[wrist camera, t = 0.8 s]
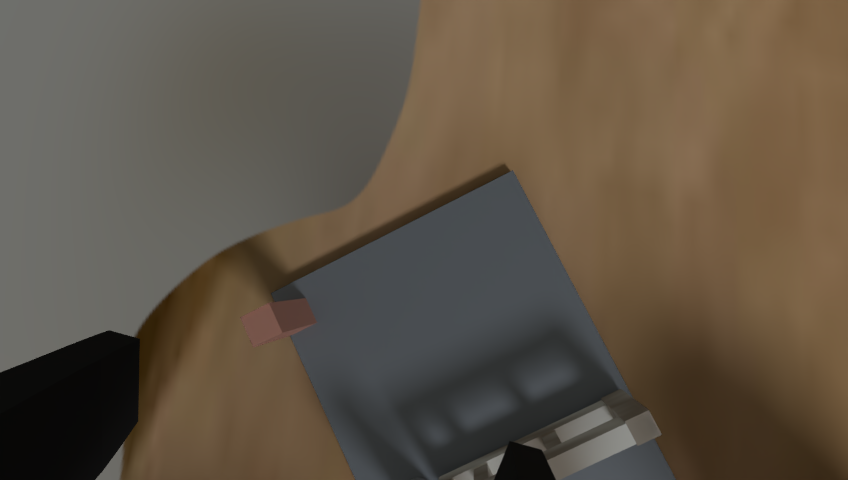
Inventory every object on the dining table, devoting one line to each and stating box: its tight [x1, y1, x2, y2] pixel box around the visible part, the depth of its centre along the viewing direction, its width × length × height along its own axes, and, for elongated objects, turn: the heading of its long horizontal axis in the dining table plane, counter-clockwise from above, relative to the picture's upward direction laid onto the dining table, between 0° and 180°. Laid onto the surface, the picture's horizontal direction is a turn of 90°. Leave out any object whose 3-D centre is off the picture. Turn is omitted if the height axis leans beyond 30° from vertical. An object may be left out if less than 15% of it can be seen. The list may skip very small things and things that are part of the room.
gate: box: [438, 389, 662, 480], centre depth 25 cm, size 11×1×4 cm, turn 117°
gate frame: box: [240, 171, 676, 480], centre depth 26 cm, size 21×16×7 cm
